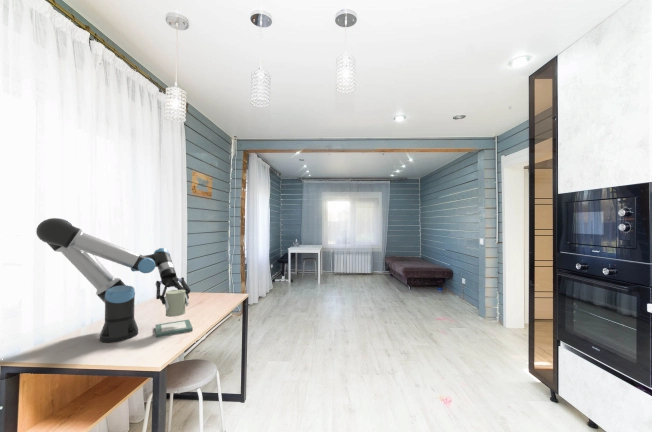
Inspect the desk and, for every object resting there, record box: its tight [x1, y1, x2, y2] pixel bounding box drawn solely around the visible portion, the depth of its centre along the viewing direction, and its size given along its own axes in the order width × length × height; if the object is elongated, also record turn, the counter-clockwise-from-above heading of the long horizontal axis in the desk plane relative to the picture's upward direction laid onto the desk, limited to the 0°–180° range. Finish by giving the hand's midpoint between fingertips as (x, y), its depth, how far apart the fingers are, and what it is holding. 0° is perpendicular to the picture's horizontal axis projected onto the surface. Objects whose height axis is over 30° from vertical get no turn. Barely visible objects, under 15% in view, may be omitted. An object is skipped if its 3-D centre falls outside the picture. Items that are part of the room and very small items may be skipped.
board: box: [154, 319, 193, 338], centre depth 148 cm, size 16×16×2 cm
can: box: [165, 289, 186, 318], centre depth 149 cm, size 9×9×12 cm
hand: (177, 306), depth 147 cm, fingers closed on can, 9 cm apart
